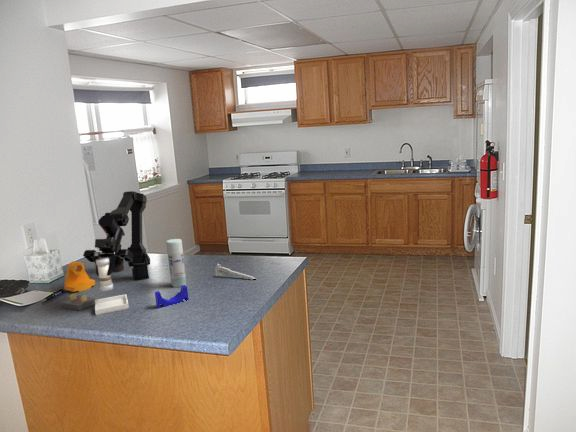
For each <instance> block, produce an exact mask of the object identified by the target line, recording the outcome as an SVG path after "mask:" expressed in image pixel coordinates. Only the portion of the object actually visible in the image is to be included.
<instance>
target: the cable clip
mask: <svg viewBox="0 0 576 432" xmlns="http://www.w3.org/2000/svg"><path fill="white" fill-rule="evenodd" d="M154 297H155V304H156V307H157V309H162V307H163V308H167V307H169V305H171V306H174V305H173V304H175V305H177V303H179V304H181V303H180V302H183V303H185V302H184V301H183V299H185V300H186V301H187V300H189V292H188V286H186V285H182V286H181V287H180V291H179V292H177V293H176V294H175V295H174V296H172V297H170V299H166V298H163V297H162V293H161V292H160V290H157V291H154ZM187 302H188V301H187ZM166 306H167V307H166Z"/></svg>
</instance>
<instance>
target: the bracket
mask: <svg viewBox="0 0 576 432" xmlns="http://www.w3.org/2000/svg"><path fill="white" fill-rule="evenodd" d="M85 269H86V267H85V265H84V264H83V262H78V261H71V262H69V264H68V265H67V270H66V273H65V274H66V275H65V279H64V283H63V284H64V290H66V291H69V292H71V293H75V292H78V293H81V292H84V291H86V290H89V289H91V288H92V287H93V286H95V285H96V280H95V279H92V278H90V277H89V275H88V274H87V272H86V270H85Z"/></svg>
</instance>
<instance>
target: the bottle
mask: <svg viewBox="0 0 576 432" xmlns="http://www.w3.org/2000/svg"><path fill="white" fill-rule="evenodd" d="M105 235H106V237H107V233H105ZM120 249H122V247H121V248H119V249H118V250H120ZM109 262H110V263H111V258H109ZM110 263H109V266H110ZM124 269H125V265H124V263H122V264H121V265H120V266H118V267H117V268H116V269H115V270H114V271H113V272H112V273H119V272H122V271H124Z"/></svg>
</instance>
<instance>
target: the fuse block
mask: <svg viewBox="0 0 576 432" xmlns="http://www.w3.org/2000/svg"><path fill="white" fill-rule="evenodd" d="M95 300H97V298H96V297H91V296H87V294H84V295H77V293H75V292H73V293H72V294H70V295H69V299H67V300H65V301H62V302H61V304H62V308H65V309H69V310H75V311H82V310H85V309H86V308H88V307H92V306H93V305H95Z"/></svg>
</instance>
